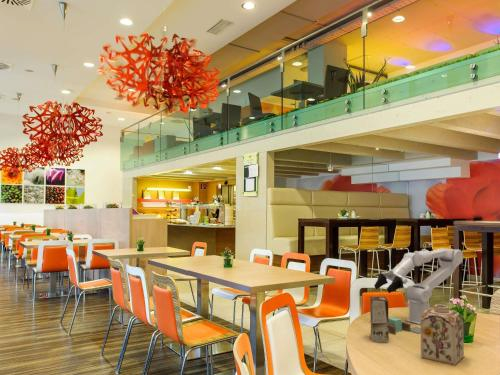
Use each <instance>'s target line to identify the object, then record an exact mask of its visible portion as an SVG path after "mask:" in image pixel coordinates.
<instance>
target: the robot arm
mask: <svg viewBox="0 0 500 375" xmlns="http://www.w3.org/2000/svg"><path fill="white" fill-rule="evenodd" d="M437 258H438V264H439V266H440V267H439V268H438V269H436V270H435V271H434V272H433V273H431V274H430V275H429V276H428V277H426V278H425V279H423V281H421V282H419V283H415V284H412V285H408V286H406V288H405V291H404V295H405V298H406V299H407V301H408V312H409V313H408V318H405V319H404V320H405V321H406V322H409V323H413V324H416V325H421V317H422V315H423V313H424V311H425V310H427V309H431V308H432V307H431V305H430V303H429V299H430V297H432V296H433V293H432V291H433V290H434V289H436V287H438V286H439V285H440V284H441V283H442V282H444V281H446V280H447V279H448V278H449V277H450V276H452V275H453V274H454V272H455V271H456V268H457V267H458V266H459V265H460V264H462V263H463V259H464V254H463V252H462V250H461V249H458V248H457V249H453V248H447V247H446V248H445V247H442V248H437V249H434V250H431V251H429V250H428V249H426V248H422V249H421V250H419V251H418V250H415V251H414V252H407V253H404V255H403V258H402V259H401V261H400V262H399V263H397V265H395V267H393V268H392V269H389V270H388V271H385V272H380V273H378V278H377V280H376V282H374V285H373V286H374V289H375V290H378V289H380V288H381V287H383V286H384V285H386V284H389V285H388V287H387V288H386V291H387V293H389V294H391V293H392V292H394V291H396V290H400V289H404V285H406V284H407V283H408V282H409V280H408V278H407V277H406V276H407V275H408V274H409V273H410V272H411V271H412V270H413V269H414V268H415V267H420V266H421V265H422V264H426V263H430V262H431V261H432V260H433V259H437ZM387 279H388V280H387ZM389 280H390V281H391V283H388V282H389Z"/></svg>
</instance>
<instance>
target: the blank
mask: <svg viewBox="0 0 500 375" xmlns="http://www.w3.org/2000/svg"><path fill="white" fill-rule="evenodd" d="M402 322H403V320H402V318H398V317H395V316H388V325H392V326H395V327H396V333H400V332H402V331H403V330H402ZM399 331H400V332H399Z"/></svg>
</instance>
